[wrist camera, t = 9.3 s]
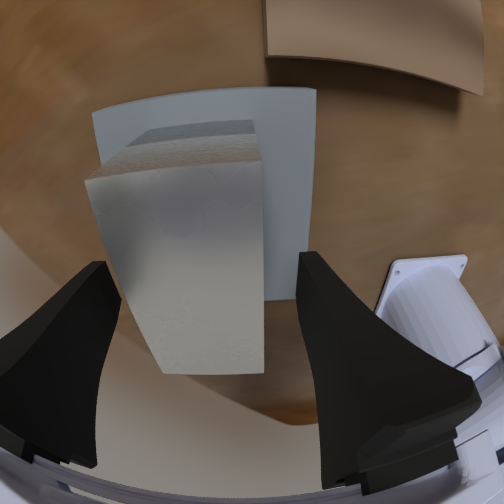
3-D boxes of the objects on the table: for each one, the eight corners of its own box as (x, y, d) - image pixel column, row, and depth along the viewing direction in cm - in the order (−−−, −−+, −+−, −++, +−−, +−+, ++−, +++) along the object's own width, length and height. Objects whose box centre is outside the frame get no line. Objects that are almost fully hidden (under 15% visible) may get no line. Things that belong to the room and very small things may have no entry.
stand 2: (461, 90, 11) (482, 96, 9) (264, 57, 11) (268, 55, 9) (458, -6, 7) (479, -8, 5) (259, -56, 7) (261, -72, 5)
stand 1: (297, 277, 19) (302, 298, 17) (151, 283, 19) (145, 304, 17) (306, 87, 12) (316, 89, 10) (109, 106, 12) (91, 113, 10)
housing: (252, 119, 11) (261, 161, 6) (257, 281, 16) (264, 373, 11) (149, 129, 11) (83, 180, 6) (180, 284, 16) (163, 373, 11)
